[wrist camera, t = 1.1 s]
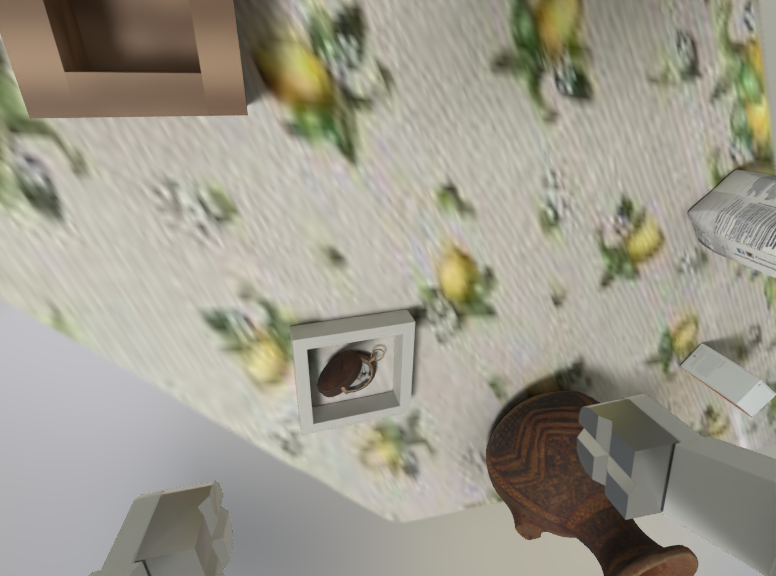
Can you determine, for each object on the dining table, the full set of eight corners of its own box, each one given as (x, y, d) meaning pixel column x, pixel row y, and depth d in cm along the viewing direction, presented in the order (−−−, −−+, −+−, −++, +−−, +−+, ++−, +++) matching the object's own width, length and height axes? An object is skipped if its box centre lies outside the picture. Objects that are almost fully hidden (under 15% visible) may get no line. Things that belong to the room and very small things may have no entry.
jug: (484, 380, 64) (644, 590, 39) (599, 365, 71) (799, 536, 46) (459, 481, 74) (574, 701, 49) (562, 459, 81) (711, 643, 55)
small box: (678, 365, 78) (735, 404, 69) (701, 341, 77) (762, 378, 68) (696, 379, 82) (752, 418, 73) (718, 357, 80) (778, 394, 72)
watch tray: (289, 326, 50) (292, 340, 48) (406, 309, 54) (415, 321, 52) (299, 418, 57) (302, 435, 54) (402, 397, 61) (410, 412, 58)
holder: (-7, -124, 28) (-71, -171, 22) (220, -99, 32) (216, -133, 26) (65, 107, 35) (29, 118, 29) (246, 106, 39) (247, 115, 33)
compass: (347, 396, 58) (360, 436, 52) (309, 363, 54) (319, 403, 47) (394, 360, 57) (413, 396, 51) (360, 324, 53) (376, 359, 47)
